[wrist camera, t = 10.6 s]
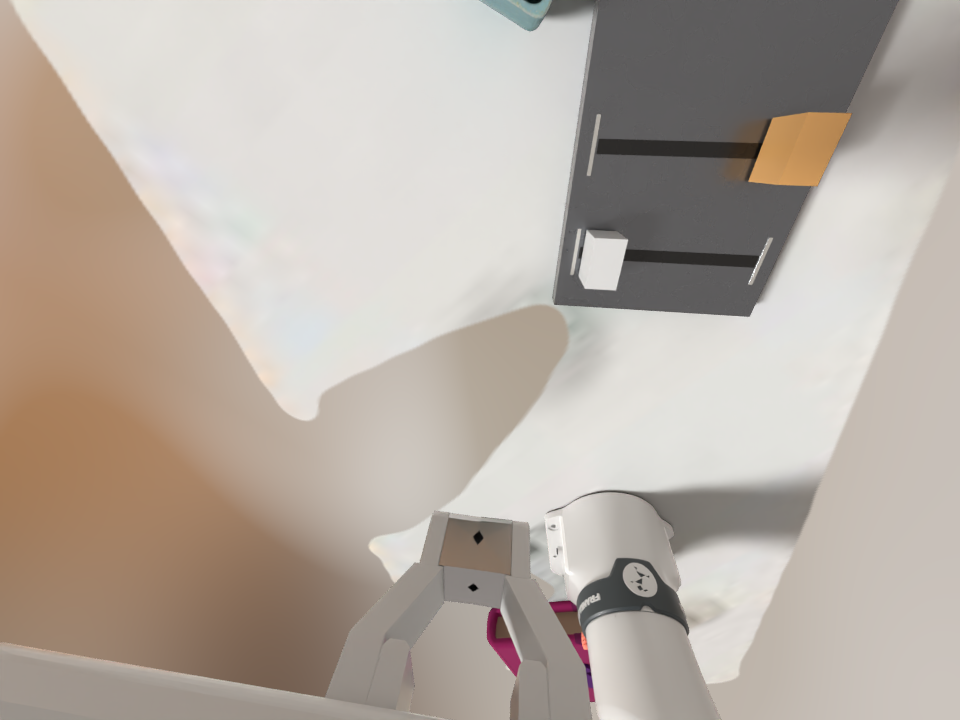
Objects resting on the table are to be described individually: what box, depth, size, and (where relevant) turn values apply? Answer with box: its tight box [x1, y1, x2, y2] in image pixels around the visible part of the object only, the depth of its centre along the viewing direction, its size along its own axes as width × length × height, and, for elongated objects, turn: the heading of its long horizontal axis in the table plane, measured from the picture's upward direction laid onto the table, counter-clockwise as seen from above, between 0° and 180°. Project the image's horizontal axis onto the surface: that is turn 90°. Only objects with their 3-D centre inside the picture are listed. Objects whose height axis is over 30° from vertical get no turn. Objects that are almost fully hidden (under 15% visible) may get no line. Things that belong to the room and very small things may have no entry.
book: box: [487, 601, 595, 702], centre depth 69 cm, size 21×28×8 cm
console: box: [552, 0, 899, 317], centre depth 27 cm, size 22×18×2 cm
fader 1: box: [579, 230, 628, 290], centre depth 28 cm, size 4×2×4 cm, turn 178°
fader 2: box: [748, 112, 852, 186], centre depth 23 cm, size 4×2×4 cm, turn 178°
